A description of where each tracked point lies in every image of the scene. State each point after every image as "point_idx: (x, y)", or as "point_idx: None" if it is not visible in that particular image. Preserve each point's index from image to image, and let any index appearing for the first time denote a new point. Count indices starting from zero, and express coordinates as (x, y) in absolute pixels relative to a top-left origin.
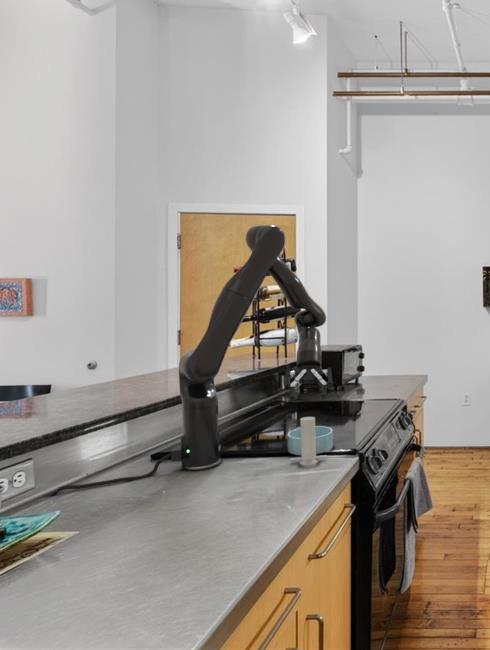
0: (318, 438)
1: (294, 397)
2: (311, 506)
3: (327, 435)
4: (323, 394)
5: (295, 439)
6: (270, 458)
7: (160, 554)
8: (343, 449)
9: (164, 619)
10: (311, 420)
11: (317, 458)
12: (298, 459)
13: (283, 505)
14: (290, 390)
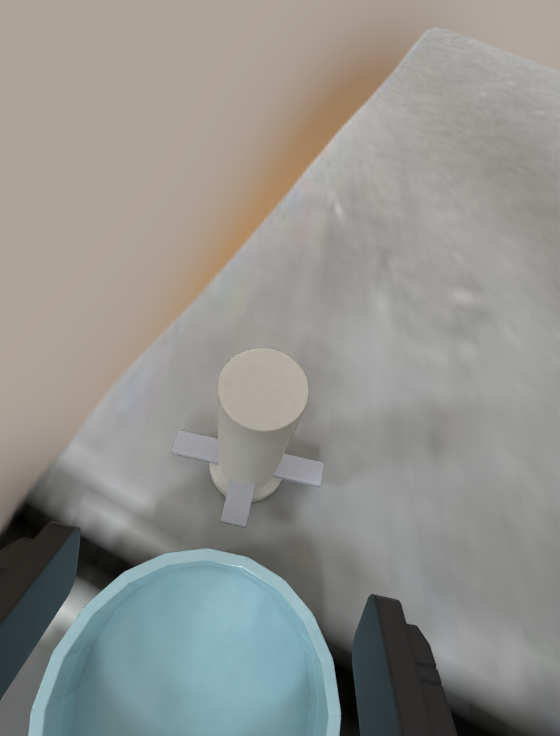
0: (176, 552)
1: (371, 595)
2: (292, 190)
3: (112, 583)
4: (52, 526)
5: (298, 596)
6: None
7: (539, 164)
8: None
9: (476, 57)
10: (247, 350)
11: (216, 438)
12: (292, 455)
13: (351, 220)
14: (448, 718)
